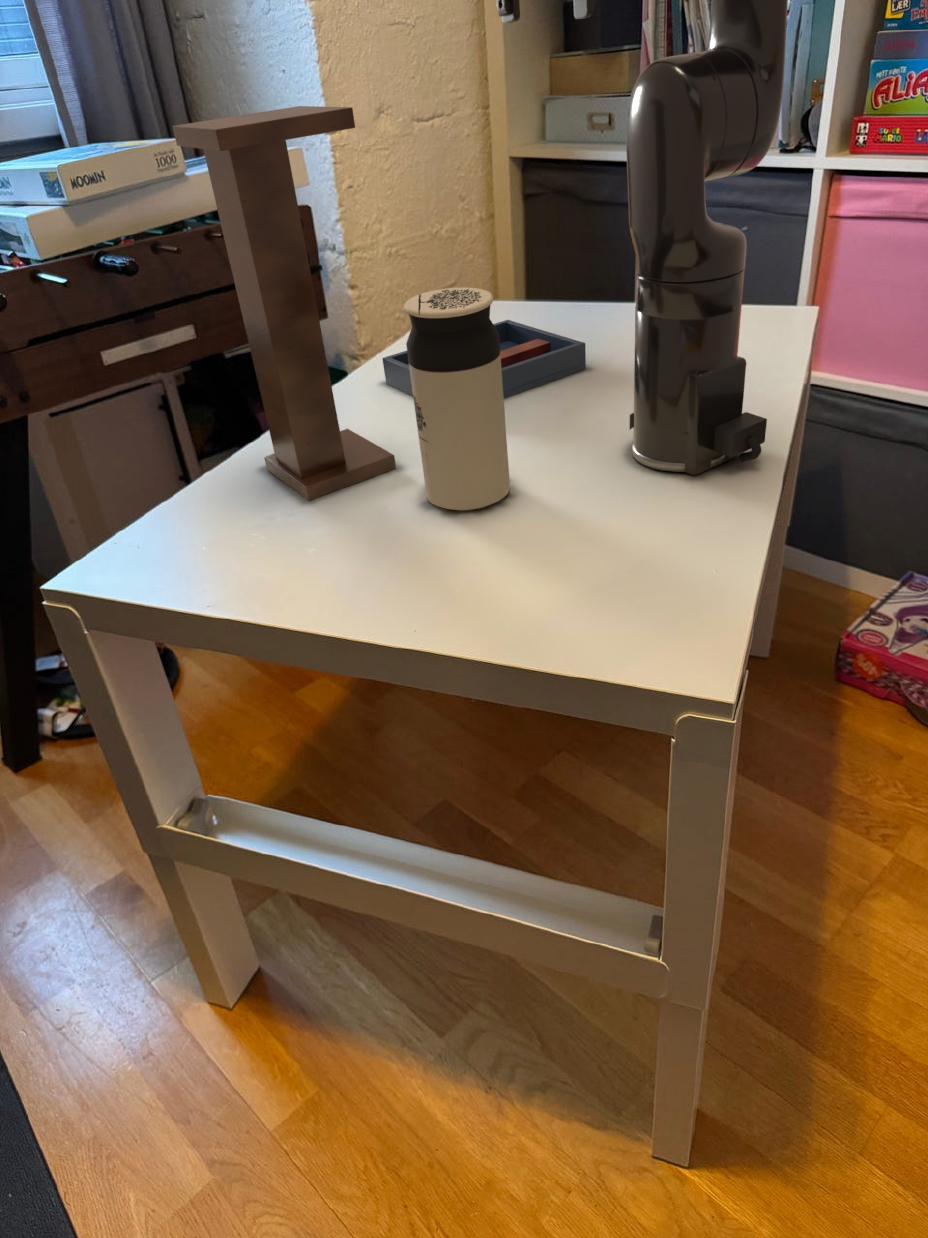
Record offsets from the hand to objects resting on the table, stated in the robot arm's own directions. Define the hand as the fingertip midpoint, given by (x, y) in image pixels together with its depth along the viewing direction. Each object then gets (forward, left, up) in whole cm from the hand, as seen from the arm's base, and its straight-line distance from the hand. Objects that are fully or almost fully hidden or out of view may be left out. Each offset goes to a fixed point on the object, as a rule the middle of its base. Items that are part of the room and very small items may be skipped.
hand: (548, 19), depth 86 cm
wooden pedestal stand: (-2, +32, -36) cm, 48 cm away
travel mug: (-17, +25, -36) cm, 47 cm away
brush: (+6, +6, -35) cm, 36 cm away
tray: (+8, +5, -36) cm, 37 cm away
